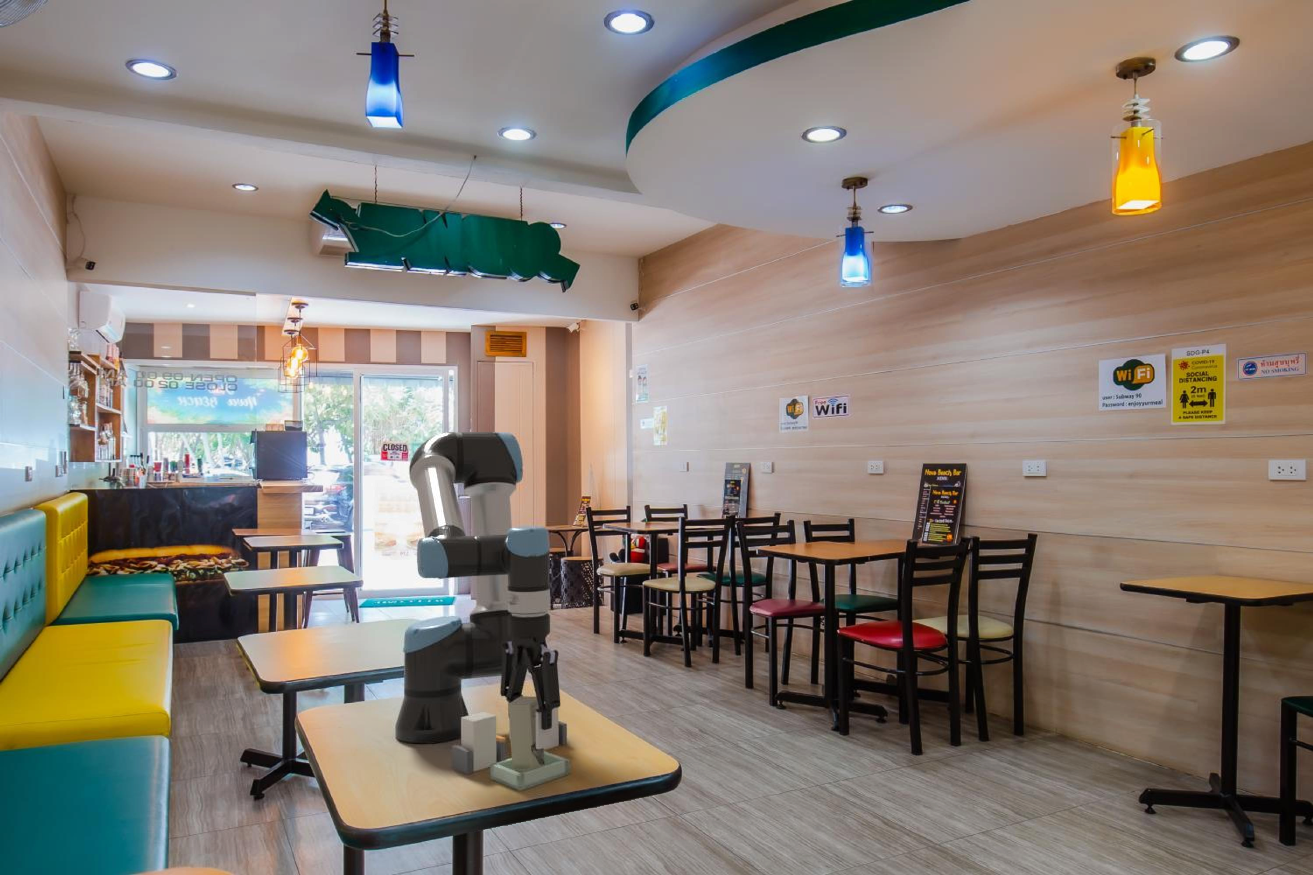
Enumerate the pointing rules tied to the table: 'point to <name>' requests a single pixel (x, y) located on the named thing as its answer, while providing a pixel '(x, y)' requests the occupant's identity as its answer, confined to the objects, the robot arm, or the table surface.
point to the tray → (529, 772)
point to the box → (524, 735)
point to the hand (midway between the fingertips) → (529, 741)
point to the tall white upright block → (480, 739)
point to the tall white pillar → (554, 729)
